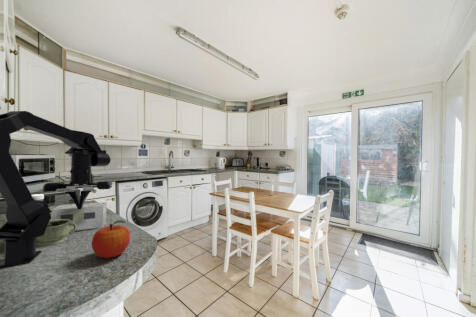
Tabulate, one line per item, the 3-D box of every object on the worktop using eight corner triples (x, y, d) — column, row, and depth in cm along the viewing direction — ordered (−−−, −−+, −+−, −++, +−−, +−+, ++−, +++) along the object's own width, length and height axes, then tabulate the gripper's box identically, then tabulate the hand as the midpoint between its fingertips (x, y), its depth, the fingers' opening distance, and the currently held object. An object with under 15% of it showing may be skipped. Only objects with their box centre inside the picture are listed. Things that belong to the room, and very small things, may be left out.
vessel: (73, 232, 72) (74, 216, 72) (78, 239, 66) (79, 221, 66) (26, 242, 63) (27, 224, 63) (28, 251, 57) (28, 230, 57)
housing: (102, 227, 78) (103, 206, 78) (50, 234, 70) (51, 209, 70) (106, 221, 85) (106, 202, 85) (59, 227, 78) (60, 205, 78)
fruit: (97, 250, 59) (98, 217, 59) (132, 245, 62) (133, 215, 62) (85, 266, 50) (86, 228, 50) (126, 259, 53) (127, 224, 53)
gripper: (114, 166, 81) (113, 202, 80) (57, 166, 72) (55, 206, 72) (110, 167, 71) (108, 208, 70) (43, 167, 62) (41, 214, 62)
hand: (79, 209), depth 69 cm, fingers closed
